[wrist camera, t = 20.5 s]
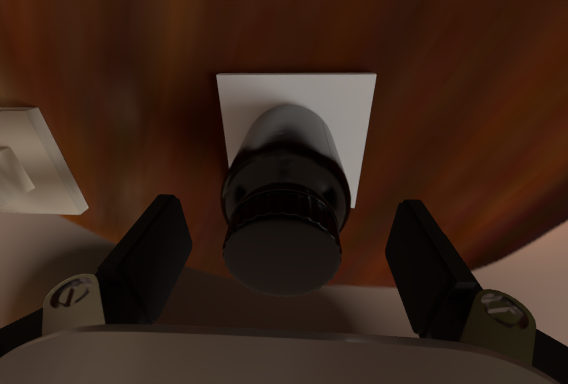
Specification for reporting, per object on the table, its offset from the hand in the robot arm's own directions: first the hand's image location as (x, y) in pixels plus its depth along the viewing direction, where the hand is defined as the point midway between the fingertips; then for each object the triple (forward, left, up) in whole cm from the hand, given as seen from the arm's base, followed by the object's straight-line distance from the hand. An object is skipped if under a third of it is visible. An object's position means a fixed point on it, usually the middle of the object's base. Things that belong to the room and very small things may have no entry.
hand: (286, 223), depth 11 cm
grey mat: (+1, 0, -11) cm, 11 cm away
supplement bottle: (+1, 0, -11) cm, 11 cm away
